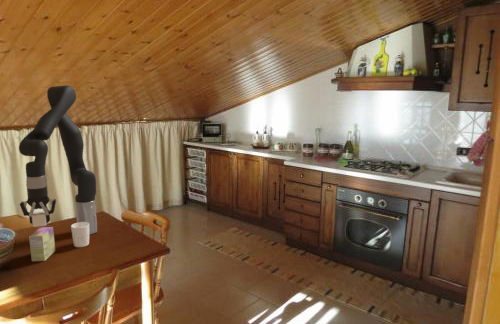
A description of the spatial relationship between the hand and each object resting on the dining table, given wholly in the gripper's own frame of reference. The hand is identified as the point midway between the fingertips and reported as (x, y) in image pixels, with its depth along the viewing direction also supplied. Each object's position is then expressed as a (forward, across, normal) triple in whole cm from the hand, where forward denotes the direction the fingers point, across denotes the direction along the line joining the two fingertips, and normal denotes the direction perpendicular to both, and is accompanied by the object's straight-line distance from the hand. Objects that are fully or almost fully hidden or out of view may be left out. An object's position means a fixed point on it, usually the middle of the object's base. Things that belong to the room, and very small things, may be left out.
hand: (40, 223), depth 158 cm
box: (+16, 0, 0) cm, 16 cm away
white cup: (+16, -15, -8) cm, 23 cm away
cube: (0, 0, 0) cm, 0 cm away
